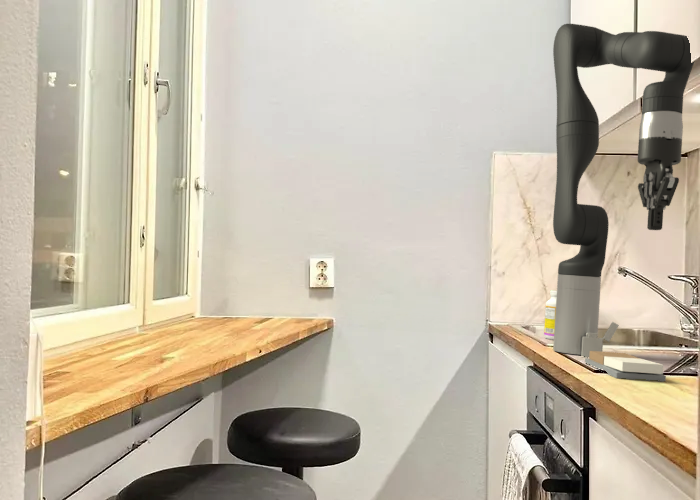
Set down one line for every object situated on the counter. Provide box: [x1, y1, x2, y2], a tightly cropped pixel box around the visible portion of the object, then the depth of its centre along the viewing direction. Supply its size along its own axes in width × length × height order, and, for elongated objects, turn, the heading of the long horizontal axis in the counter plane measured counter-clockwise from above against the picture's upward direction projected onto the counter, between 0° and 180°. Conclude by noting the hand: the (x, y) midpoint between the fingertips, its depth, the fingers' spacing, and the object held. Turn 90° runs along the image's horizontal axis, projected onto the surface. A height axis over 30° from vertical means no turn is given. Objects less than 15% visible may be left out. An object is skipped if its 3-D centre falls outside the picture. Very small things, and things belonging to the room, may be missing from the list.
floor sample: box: [584, 351, 667, 382], centre depth 128 cm, size 17×8×3 cm, turn 179°
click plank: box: [604, 356, 664, 375], centre depth 124 cm, size 9×7×2 cm
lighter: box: [580, 321, 620, 358], centre depth 147 cm, size 7×2×8 cm, turn 74°
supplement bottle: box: [543, 289, 557, 341], centre depth 182 cm, size 7×7×13 cm
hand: (654, 229), depth 130 cm, fingers closed
